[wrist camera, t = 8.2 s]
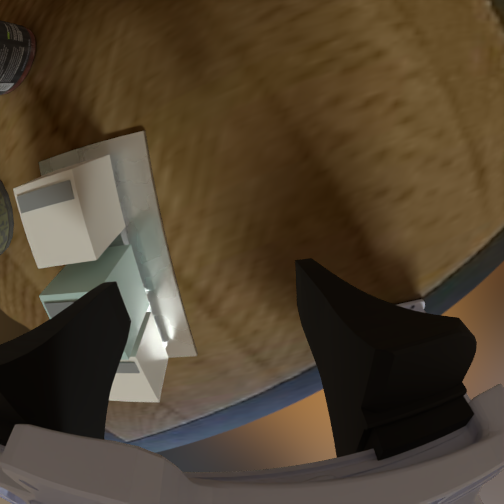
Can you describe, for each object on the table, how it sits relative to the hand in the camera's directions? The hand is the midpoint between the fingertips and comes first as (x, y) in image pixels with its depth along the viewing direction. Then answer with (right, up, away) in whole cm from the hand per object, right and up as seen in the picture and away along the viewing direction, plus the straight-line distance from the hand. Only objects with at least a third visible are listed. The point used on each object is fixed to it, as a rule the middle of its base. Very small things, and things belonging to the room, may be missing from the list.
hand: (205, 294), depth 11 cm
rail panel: (-9, +1, +10) cm, 13 cm away
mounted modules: (-9, 0, +9) cm, 12 cm away
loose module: (-9, 0, +9) cm, 12 cm away
